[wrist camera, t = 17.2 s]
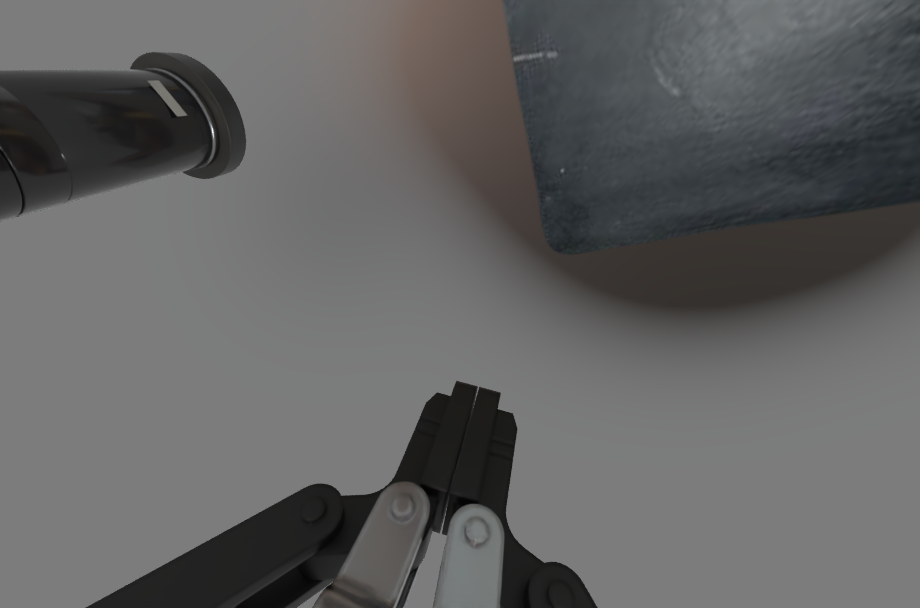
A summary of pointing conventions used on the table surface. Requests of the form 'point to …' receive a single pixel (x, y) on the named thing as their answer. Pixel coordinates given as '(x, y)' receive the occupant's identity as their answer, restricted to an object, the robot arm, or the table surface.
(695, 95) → the table surface
